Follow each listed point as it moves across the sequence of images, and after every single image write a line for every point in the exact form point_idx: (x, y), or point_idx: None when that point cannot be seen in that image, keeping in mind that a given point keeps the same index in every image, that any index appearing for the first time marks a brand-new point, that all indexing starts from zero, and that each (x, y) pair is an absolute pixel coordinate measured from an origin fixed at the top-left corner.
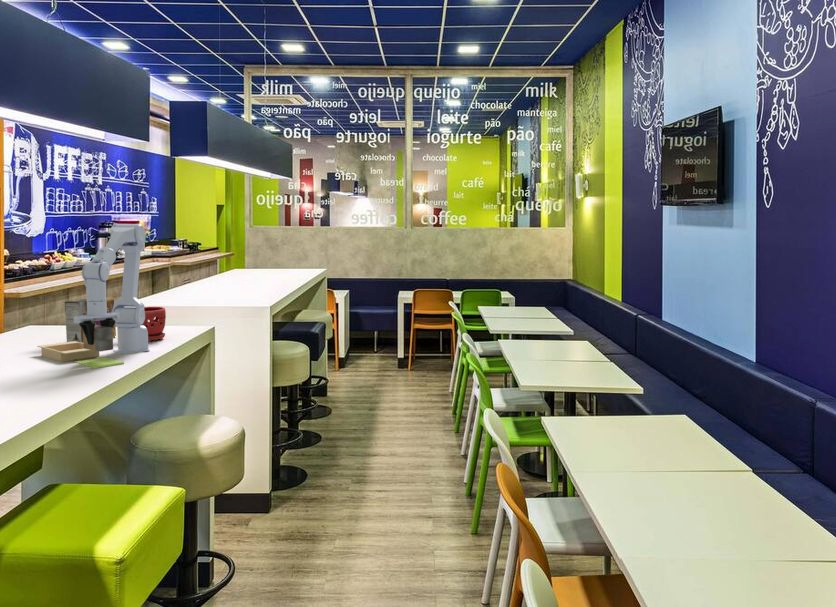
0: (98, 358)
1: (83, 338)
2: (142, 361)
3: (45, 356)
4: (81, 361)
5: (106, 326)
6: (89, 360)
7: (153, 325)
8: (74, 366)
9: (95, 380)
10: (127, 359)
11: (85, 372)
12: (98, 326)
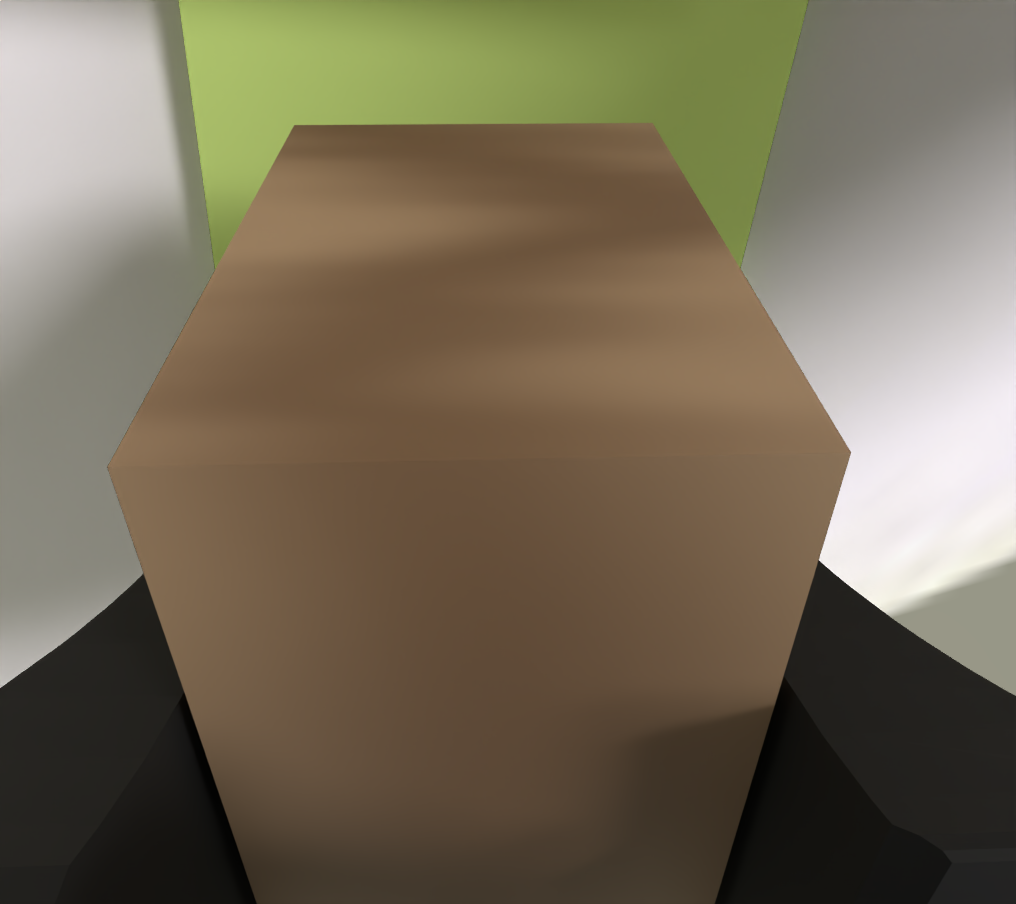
0: (654, 18)
1: (242, 228)
2: (897, 544)
3: None
4: (281, 39)
5: (735, 898)
6: (433, 71)
7: None
8: (94, 189)
9: None
10: (936, 313)
11: (99, 600)
12: (597, 786)
